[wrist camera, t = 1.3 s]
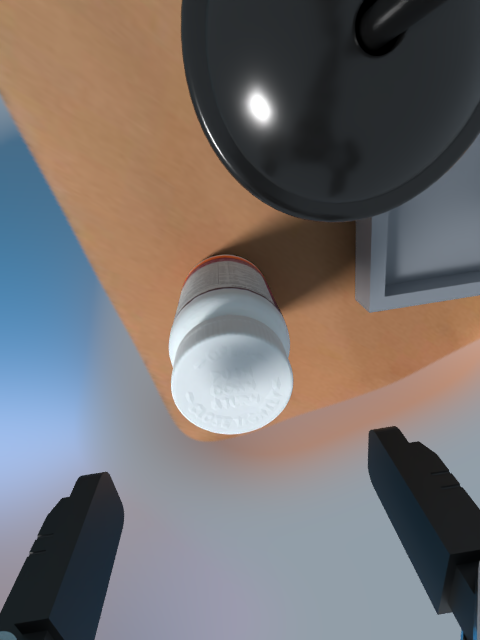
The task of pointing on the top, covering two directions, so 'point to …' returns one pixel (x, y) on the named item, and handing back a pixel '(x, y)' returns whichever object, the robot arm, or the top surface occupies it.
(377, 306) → the tray
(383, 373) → the top surface
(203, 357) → the pill bottle
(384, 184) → the drinking cup
